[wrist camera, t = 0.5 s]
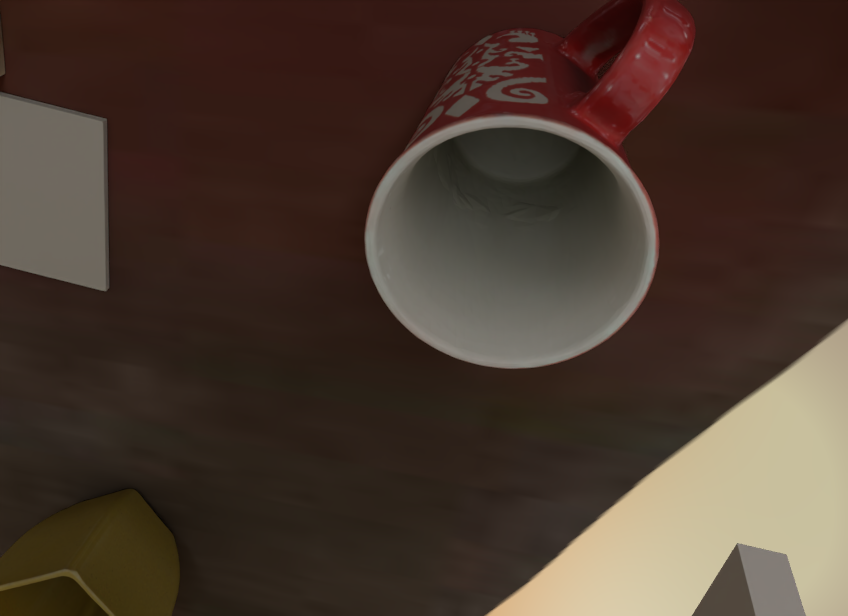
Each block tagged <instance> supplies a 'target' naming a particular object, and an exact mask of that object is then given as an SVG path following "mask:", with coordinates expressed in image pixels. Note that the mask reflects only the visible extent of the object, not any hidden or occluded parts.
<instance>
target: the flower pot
mask: <svg viewBox="0 0 848 616" xmlns="http://www.w3.org/2000/svg"><path fill="white" fill-rule="evenodd" d="M179 581H180V565H179V557H178V551H177V547H176V543H175V539H174V536H173V534H172V533H171V532H170V530H169V529H168V528H167V527H166V526H165V525H164V523H163V522H162V521H161V520H160V519H159V517H158V516H157V515H156V514H155V513H154V511H153V510H152V509H151V508H150V506H149V505H148V504H147V503H146V502H145V500H144V499H143V498H142V496H141V495H140V494H139V493H138V492H137V491H136V490H134V489H125V490H122V491H118V492H115V493H111V494H108V495H105V496H101V497H97V498H94V499H90V500H86V501H83V502H80V503H78V504H75V505H73V506H71V507H69V508H66V509H64V510H62V511H60V512H58V513H56V514H54V515H52V516H50V517H49V518H47V519H45V520H44V521H42V522H40V523H39V524H37V525H36V526H34V527H33V528H32V529H30V530H29V531H28V532H26V533H25V534H24V535H23V536H22V537H21V538H19V539H18V540H17V541H16V542H15V543H14V544H13V545H12V546H11V547H10V548H9V549H8V550H7V551H6V552H5V553H4V555H3V556H2V557H1V558H0V616H171V615H172V612H173V608H174V605H175V602H176V598H177V594H178V589H179Z"/></svg>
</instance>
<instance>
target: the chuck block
mask: <svg viewBox="0 0 848 616" xmlns="http://www.w3.org/2000/svg"><path fill="white" fill-rule="evenodd" d="M4 74H5V63H4V51H3V39H2V28H1V16H0V76H2V75H4Z"/></svg>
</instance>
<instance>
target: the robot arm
mask: <svg viewBox="0 0 848 616" xmlns="http://www.w3.org/2000/svg"><path fill="white" fill-rule="evenodd" d="M692 616H806V615H805V612H804V609H803V606H802V603H801V599H800V596H799V593H798V590H797V587H796V583H795V580H794V577H793V574H792V571H791V567H790V564H789V561H788V558H787V555H786V554H782V553H777V552H773V551H769V550H764V549H760V548H756V547H752V546H747V545H743V544H738V543H737V545H736V546H735V548H734V550H733V551H732V552H731V554H730V556H729V557H728V559H727V560H726V562H725V564H724V565H723V567H722V568H721V570H720V572H719V573H718V575H717V576H716V578H715V580H714V581H713V583H712V584H711V586H710V588H709V589H708V591H707V592H706V594H705V596H704V597H703V599H702V600H701V602H700V604H699V605H698V607H697V608H696V610H695V612H694V613H693V615H692Z"/></svg>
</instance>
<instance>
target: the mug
mask: <svg viewBox="0 0 848 616" xmlns="http://www.w3.org/2000/svg"><path fill="white" fill-rule="evenodd" d="M695 33H696V28H695V23H694V19H693V17H692V16H691V14H690V12H689V11H688V10H687V9H686V8H685V7H684V6H683V5H682V4H681V3H679V2H678V1H676V0H611V1H609V2H608V3H607V4H605V5H604V6H602V7H601V8H600V9H598V10H597V11H596V12H594V13H593V14H592V15H590V16H589V17H588V18H587V19H586V20H584V21H583V22H582V23H581V24H580V25H579V26H577V27H576V28H575V29H574V30H573V31H572V32H571V33H569V34H568V35H567V36H566V37H565V38H562V37H560V36H558V35H556V34H553V33H550V32H547V31H544V30H540V29H534V28H513V29H507V30H503V31H500V32H496V33H494V34H491V35H489V36H487V37H485V38H483V39H482V40H480V41H478V42H476V43H475V44H474V45H472V46H471V47H470V48H469V49H467V50H466V51H465V52H464V53H463V54H462V55H461V56H460V57H459V59H458V60H457V61H456V63H455V64H454V65H453V67H452V68H451V70H450V71H449V73H448V75H447V76H446V78H445V80H444V82H443V84H442V86H441V88H440V89H439V91H438V93H437V95H436V96H435V98H434V100H433V101H432V103H431V104H430V106H429V107H428V109H427V110H426V113H425V115H424V117H423V119H422V120H421V122H420V124H419V126H418V128H417V129H416V131H415V133H414V134H413V136H412V137H411V139H410V141H409V143H408V144H407V146H406V148H405V149H404V151H403V153H402V154H401V155H400V156H399V157H398V158H397V159H396V160H395V161H394V162H393V163H392V164H391V165H390V166H389V168H388V169H387V171H386V172H385V174H384V175H383V177H382V179H381V180H380V182H379V184H378V186H377V188H376V190H375V192H374V194H373V196H372V199H371V202H370V205H369V209H368V213H367V218H366V223H365V234H364V240H365V255H366V260H367V264H368V267H369V270H370V274H371V277H372V279H373V282H374V284H375V286H376V288H377V290H378V292H379V294H380V296H381V297H382V299H383V301H384V302H385V304H386V305H387V307H388V308H389V309H390V311H391V312H392V313H393V314H394V316H395V317H396V318H397V319H398V320H399V321H400V322H401V323H402V324H403V325H404V326H405V327H406V328H407V329H408V330H409V331H410V332H411V333H413V334H414V335H415V336H416V337H418V338H419V339H421V340H422V341H424V342H425V343H427V344H428V345H430V346H432V347H433V348H435V349H437V350H439V351H441V352H443V353H445V354H447V355H450V356H452V357H454V358H457V359H460V360H463V361H466V362H469V363H473V364H477V365H482V366H488V367H495V368H504V369H520V368H534V367H541V366H547V365H552V364H556V363H559V362H562V361H566V360H569V359H572V358H574V357H576V356H579V355H581V354H583V353H585V352H587V351H589V350H591V349H593V348H594V347H596V346H598V345H599V344H601V343H602V342H604V341H606V340H607V339H609V338H610V337H611V336H612V335H613V334H615V333H616V332H617V331H618V330H619V329H620V328H621V327H622V326H623V325H624V324H625V323H626V322H627V321H628V320H629V319H630V318H631V317H632V315H633V314H634V313H635V312H636V310H637V309H638V307H639V306H640V304H641V303H642V301H643V299H644V298H645V296H646V294H647V292H648V290H649V288H650V285H651V283H652V280H653V277H654V274H655V270H656V266H657V260H658V256H659V232H658V224H657V219H656V215H655V211H654V208H653V205H652V203H651V200H650V198H649V195H648V193H647V191H646V190H645V188H644V186H643V184H642V182H641V181H640V179H639V178H638V177H637V176H636V174H635V173H634V171H633V170H632V169H631V166H630V163H629V161H628V158H627V156H626V153H625V150H624V148H623V146H622V141H623V140H624V139H625V138H626V136H627V135H628V134H629V132H630V131H631V130H633V129H634V128H635V127H636V126H637V125H638V124H639V123H640V122H641V121H643V120H644V119H645V117H646V116H647V115H648V114H649V113H650V112H651V111H652V110H653V108H655V106H656V105H657V104H658V103H659V101H660V100H661V99H662V98H663V96H664V95H665V94H666V93H667V91H668V90H669V88H670V87H671V86H672V84H673V83H674V82H675V80H676V78H677V77H678V75H679V73H680V72H681V70H682V68H683V66H684V64H685V63H686V61H687V59H688V56H689V55H690V53H691V50H692V48H693V45H694V40H695ZM620 51H621V52H620ZM619 52H620V53H619ZM617 53H619V54H618V56H617V57H616V59H615V60H614V62H613V64H612V65H611V66H610V68H609V69H608V70H607V71H606V72H605V74H604V75H603V76H602V77H601V78H600V80H599V79H598V76H597V74H598V72H599V70H600V69H601V68H602V67H603V65H604V64H606V63H607V61H608V60H609V59H611V58H612V57H613V56H614V55H616V54H617Z"/></svg>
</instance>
